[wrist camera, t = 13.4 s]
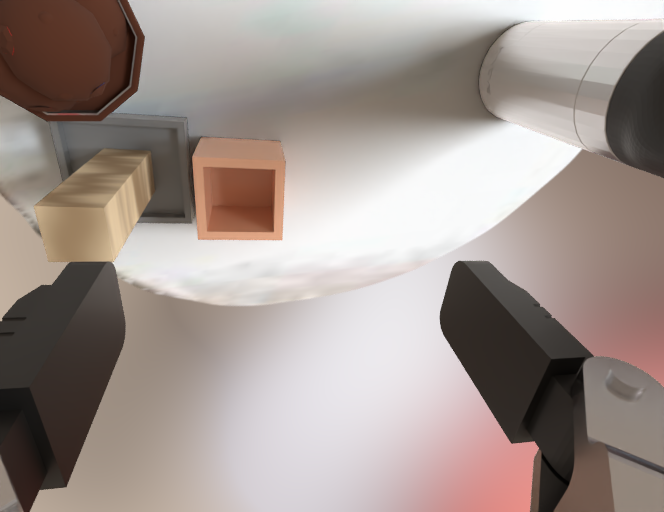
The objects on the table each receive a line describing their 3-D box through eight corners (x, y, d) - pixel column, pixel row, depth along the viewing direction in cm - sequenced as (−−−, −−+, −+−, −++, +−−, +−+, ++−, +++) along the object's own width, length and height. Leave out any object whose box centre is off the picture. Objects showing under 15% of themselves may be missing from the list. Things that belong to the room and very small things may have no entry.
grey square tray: (186, 117, 38) (183, 121, 36) (194, 215, 43) (191, 223, 41) (56, 109, 36) (46, 113, 34) (79, 213, 41) (72, 221, 39)
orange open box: (280, 141, 40) (285, 160, 34) (278, 211, 44) (282, 240, 38) (201, 136, 39) (192, 156, 33) (205, 209, 43) (198, 239, 37)
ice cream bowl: (122, -70, 31) (31, -139, 18) (189, 81, 37) (156, 111, 24) (-10, -25, 31) (-197, -63, 18) (78, 119, 36) (-16, 169, 24)
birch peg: (150, 150, 38) (103, 208, 26) (155, 191, 40) (113, 261, 28) (104, 148, 37) (33, 206, 25) (110, 189, 39) (48, 261, 27)
